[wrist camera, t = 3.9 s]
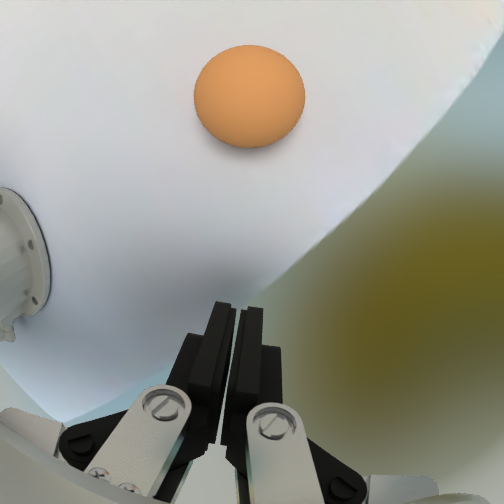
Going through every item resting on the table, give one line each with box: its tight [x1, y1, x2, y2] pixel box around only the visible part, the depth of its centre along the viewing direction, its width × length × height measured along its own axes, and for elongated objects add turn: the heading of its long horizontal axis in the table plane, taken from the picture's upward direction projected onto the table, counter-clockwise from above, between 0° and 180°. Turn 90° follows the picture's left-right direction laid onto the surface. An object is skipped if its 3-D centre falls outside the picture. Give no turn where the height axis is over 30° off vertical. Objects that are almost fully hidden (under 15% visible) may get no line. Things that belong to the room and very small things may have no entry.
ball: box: [194, 45, 305, 148], centre depth 12 cm, size 6×6×6 cm
